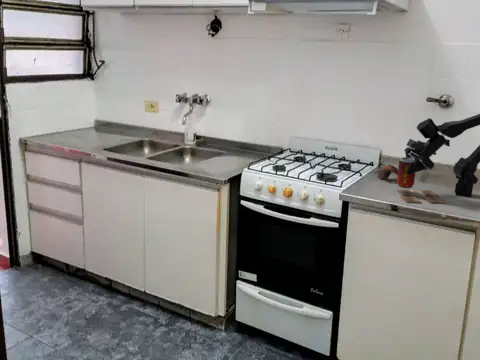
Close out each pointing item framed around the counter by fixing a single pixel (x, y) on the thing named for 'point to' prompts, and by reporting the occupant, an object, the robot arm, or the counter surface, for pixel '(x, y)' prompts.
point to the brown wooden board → (417, 193)
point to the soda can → (405, 173)
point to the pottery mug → (387, 172)
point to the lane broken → (414, 200)
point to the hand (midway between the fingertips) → (403, 171)
